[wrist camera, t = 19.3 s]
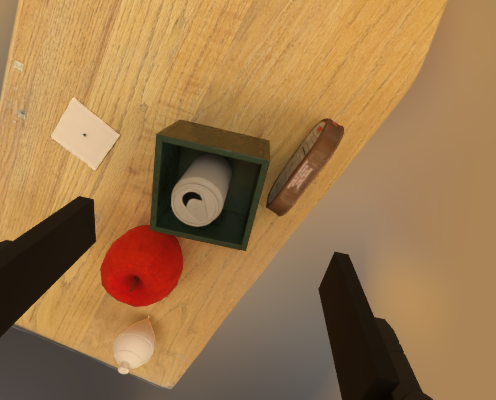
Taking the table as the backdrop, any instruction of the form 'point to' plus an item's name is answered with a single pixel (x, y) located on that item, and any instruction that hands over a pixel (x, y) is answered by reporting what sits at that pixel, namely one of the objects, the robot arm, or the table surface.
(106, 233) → the table surface
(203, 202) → the beverage can
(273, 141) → the table surface
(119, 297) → the apple
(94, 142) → the coaster
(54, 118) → the table surface
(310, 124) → the table surface
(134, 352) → the spinning top
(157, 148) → the waste bin
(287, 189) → the tin
